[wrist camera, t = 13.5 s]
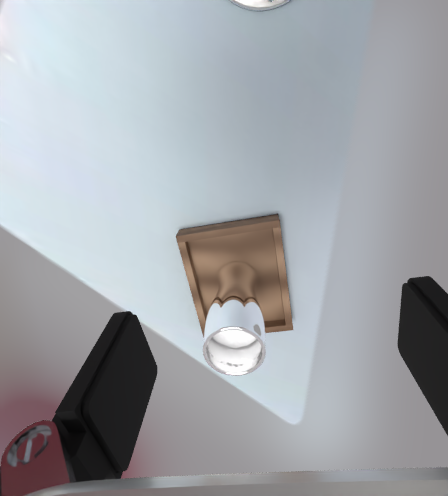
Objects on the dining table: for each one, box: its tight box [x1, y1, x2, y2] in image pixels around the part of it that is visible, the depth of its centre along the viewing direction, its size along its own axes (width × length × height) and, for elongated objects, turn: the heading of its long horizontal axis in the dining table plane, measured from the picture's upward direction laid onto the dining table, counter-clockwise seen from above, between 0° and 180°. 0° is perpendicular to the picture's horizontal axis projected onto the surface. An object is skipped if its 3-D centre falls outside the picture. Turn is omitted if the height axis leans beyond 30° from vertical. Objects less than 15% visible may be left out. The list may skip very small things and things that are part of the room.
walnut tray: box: [176, 214, 293, 337], centre depth 46 cm, size 18×14×2 cm
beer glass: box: [203, 262, 266, 376], centre depth 39 cm, size 7×7×15 cm
